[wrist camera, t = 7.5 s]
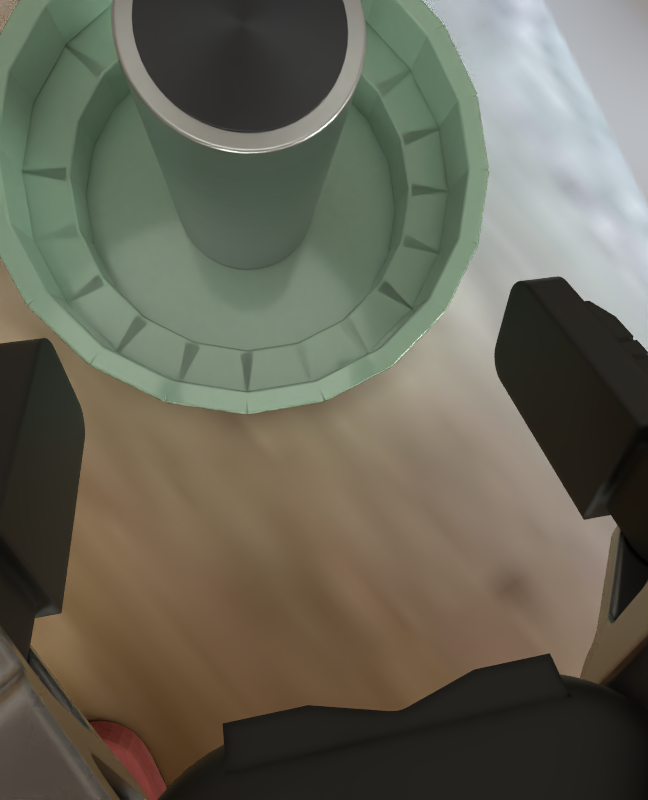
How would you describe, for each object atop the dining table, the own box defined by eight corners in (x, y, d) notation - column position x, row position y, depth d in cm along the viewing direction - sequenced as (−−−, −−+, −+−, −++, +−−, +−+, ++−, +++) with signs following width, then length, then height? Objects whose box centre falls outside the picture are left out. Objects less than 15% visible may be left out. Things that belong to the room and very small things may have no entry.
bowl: (-62, 195, 20) (-150, 138, 16) (244, -77, 22) (243, -201, 17) (247, 492, 22) (246, 516, 17) (515, 218, 23) (579, 174, 19)
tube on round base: (321, 261, 21) (384, 140, 11) (187, 277, 21) (130, 162, 11) (279, -30, 21) (306, -412, 11) (143, -24, 21) (43, -423, 11)
